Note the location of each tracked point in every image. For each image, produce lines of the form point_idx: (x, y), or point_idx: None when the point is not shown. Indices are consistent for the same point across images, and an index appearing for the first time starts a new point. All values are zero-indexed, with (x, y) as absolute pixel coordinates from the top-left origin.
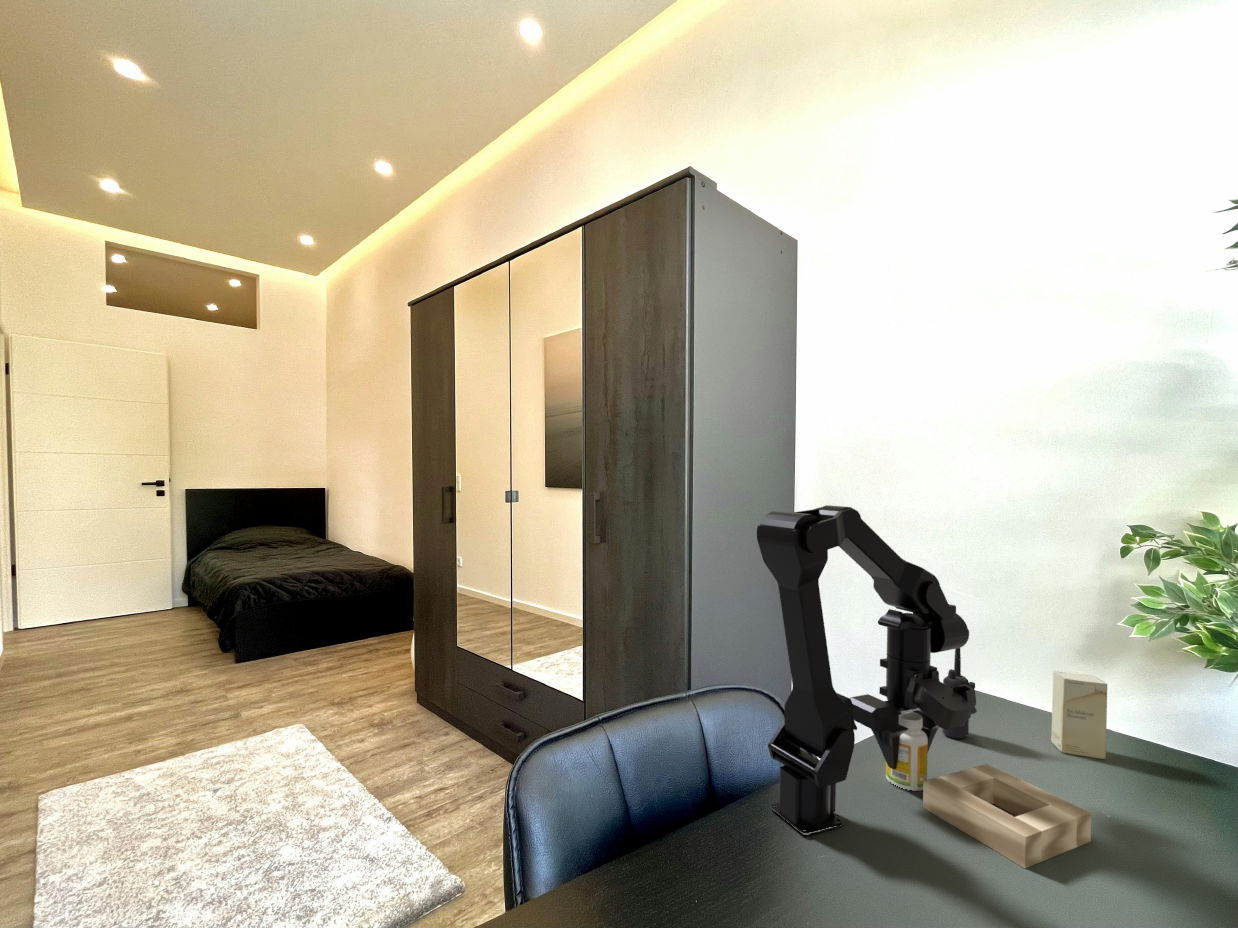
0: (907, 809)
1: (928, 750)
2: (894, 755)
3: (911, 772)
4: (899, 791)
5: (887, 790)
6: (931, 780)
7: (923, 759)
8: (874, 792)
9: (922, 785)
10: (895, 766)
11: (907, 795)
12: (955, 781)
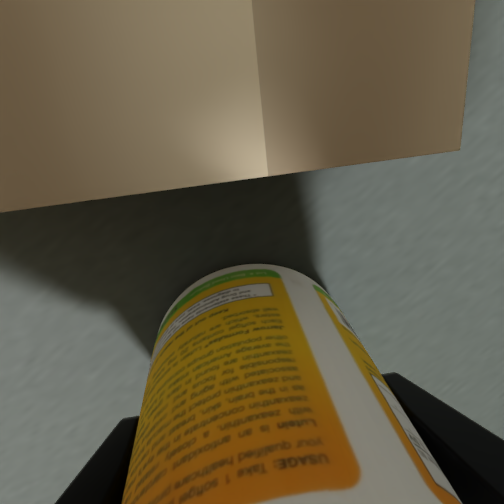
0: (461, 138)
1: (72, 484)
2: (489, 434)
3: (331, 322)
4: (352, 282)
5: (398, 300)
6: (387, 138)
7: (255, 373)
8: (468, 298)
9: (241, 273)
10: (402, 380)
11: (345, 245)
12: (180, 56)
